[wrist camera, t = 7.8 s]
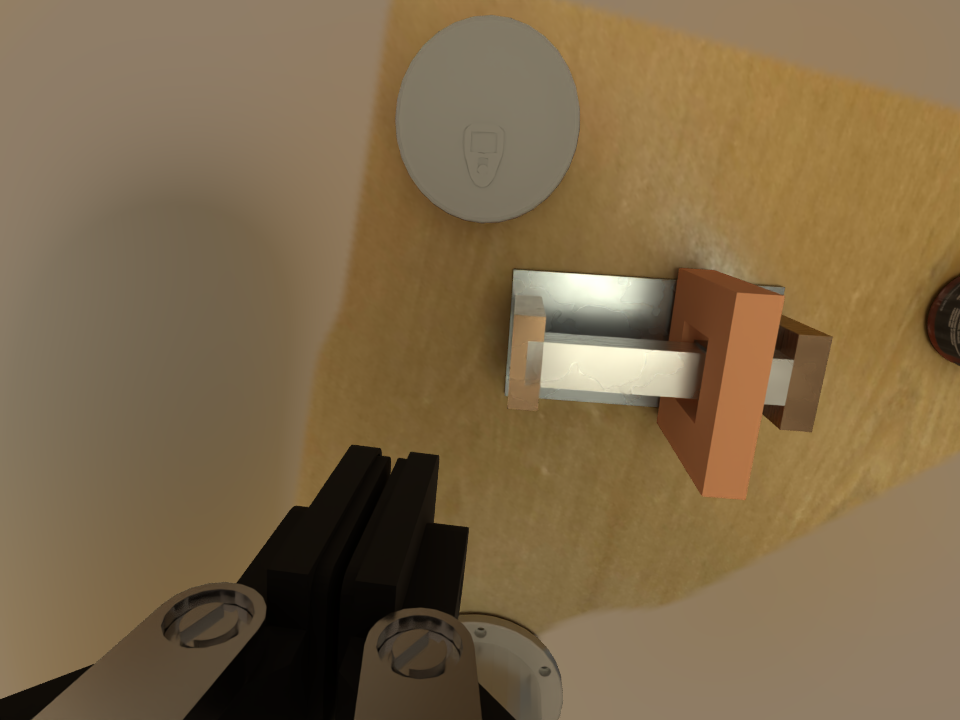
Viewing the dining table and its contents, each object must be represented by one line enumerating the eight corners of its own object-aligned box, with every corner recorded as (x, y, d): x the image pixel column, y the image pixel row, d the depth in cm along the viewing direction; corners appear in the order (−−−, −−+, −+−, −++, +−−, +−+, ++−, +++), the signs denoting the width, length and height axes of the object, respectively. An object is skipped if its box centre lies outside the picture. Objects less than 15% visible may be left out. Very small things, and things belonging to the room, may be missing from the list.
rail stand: (504, 392, 39) (501, 436, 31) (513, 268, 36) (512, 285, 29) (756, 411, 38) (811, 460, 31) (780, 286, 36) (845, 307, 29)
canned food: (449, 229, 36) (419, 241, 25) (417, 90, 34) (370, 40, 24) (574, 200, 35) (597, 201, 25) (548, 56, 33) (561, -11, 23)
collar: (656, 422, 37) (701, 496, 28) (679, 267, 35) (737, 292, 25) (689, 424, 37) (745, 499, 28) (714, 270, 34) (785, 295, 25)
